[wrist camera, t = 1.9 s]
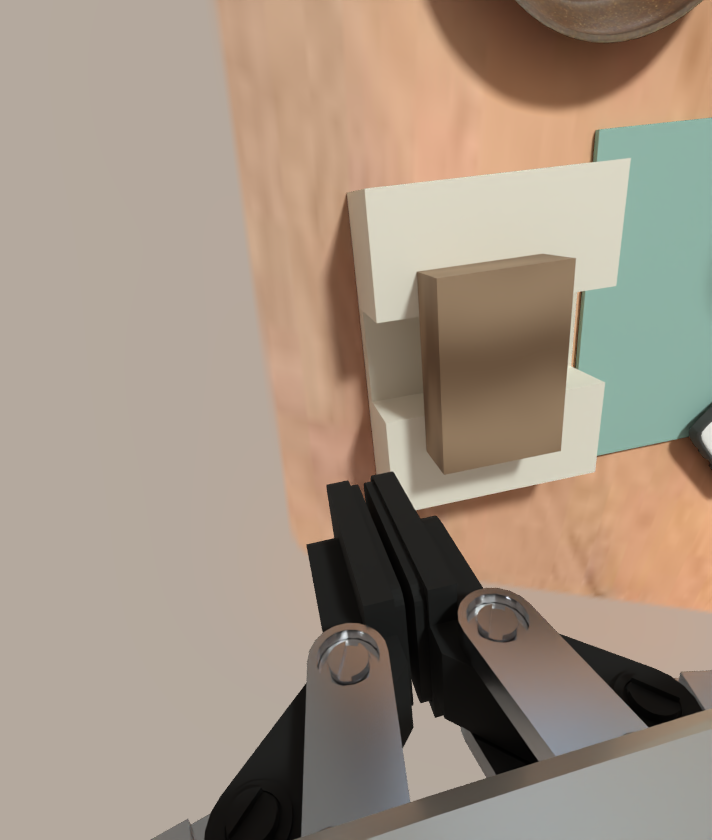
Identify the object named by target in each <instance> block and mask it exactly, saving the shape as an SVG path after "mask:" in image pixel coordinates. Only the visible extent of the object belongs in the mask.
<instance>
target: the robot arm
mask: <svg viewBox="0 0 712 840" xmlns="http://www.w3.org/2000/svg"><path fill="white" fill-rule="evenodd" d="M364 492H365V500H366V502H365V500H364V498H363V495H362V493H361V490H360V488H359V486H358V485H353V486H350V483H349V481H343V482H338V483H333V484H328V485H327V494H328V500H329V507H330V513H331V519H332V526H333V532H334V539H329V540H325V541H320V542H316V543H311V544H307V550H308V556H309V561H310V567H311V571H312V577H313V583H314V588H315V593H316V599H317V604H318V610H319V615H320V620H321V626H322V631H323V633H322V634H321V635H320V636H319V637H318V638H317V639H316V640H315V642H314V644H313V645H312V647H311V649H310V651H309V656H308V661H307V683H306V684H305V686H304V687H303V688H302V690H301V691H300V692H299V693H298V695H297V696H296V697H295V699H294V700H293V701H292V703H291V704H290V705H289V707H288V708H287V709H286V711H285V712H284V713H283V715H282V716H281V717H280V719H279V720H278V721H277V723H276V724H275V725H274V727H273V728H272V730H270V732H269V733H268V734H267V736H266V737H265V738H264V740H263V741H262V742H261V744H260V745H259V747H258V748H257V749H256V750H255V752H254V753H253V754H252V756H251V757H250V758H249V760H248V761H247V762H246V764H245V765H244V766H243V768H242V769H241V770H240V771H239V773H238V774H237V775H236V777H235V778H234V779H233V781H232V782H231V783H230V785H229V786H228V787H227V789H226V790H225V791H224V793H223V794H222V795H221V796H220V798H219V800H218V802H217V803H216V805H215V807H214V808H213V810H212V812H211V814H209V815H207V816H205V817H204V818H202V819H200V820H198V821H197V822H195V823H193V824H190V822H189V820H188V819H187V820H185V821H183V822H181V823H180V824H178V825H176V826H174V827H172V828H171V829H169V830H167V831H165V832H164V833H162V834H160V835H158V836H157V837H155V838H153V839H151V840H712V670H710V671H689V672H688V671H687V672H681V673H680V677H679V678H672V677H671V676H669V675H668V674H665V673H663V672H661V671H659V670H657V669H654V668H652V667H649V666H647V665H643V664H641V663H638V662H635V661H633V660H630V659H627V658H625V657H622V656H619V655H616V654H613V653H611V652H608V651H605V650H603V649H600V648H597V647H594V646H591V645H588V644H586V643H583V642H581V641H578V640H575V639H572V638H570V637H567V636H564V635H561V634H559V633H558V632H557V631H556V630H555V629H554V628H553V627H552V626H551V625H550V624H549V623H548V622H547V621H546V620H545V619H544V618H543V617H542V616H541V615H540V614H539V613H538V612H537V611H536V609H535V608H533V606H532V605H531V604H530V603H529V602H527V601H526V600H525V599H524V598H522V597H521V596H520V595H517V594H515V593H513V592H511V591H508V590H503V589H500V588H484V589H483V587H482V586H481V584H480V582H479V581H478V579H477V578H476V576H475V574H474V573H473V571H472V570H471V568H470V567H469V565H468V563H467V562H466V560H465V559H464V557H463V555H462V554H461V552H460V551H459V549H458V548H457V546H456V544H455V543H454V541H453V540H452V538H451V536H450V535H449V533H448V532H447V530H446V529H445V527H444V525H443V524H442V522H441V521H440V519H439V518H438V517H437V516H432V517H427V518H423V519H420V517H419V516H418V514H417V512H416V510H415V509H414V507H413V505H412V503H411V501H410V500H409V498H408V496H407V494H406V493H405V491H404V489H403V487H402V486H401V484H400V482H399V480H398V479H397V477H396V475H395V473H394V472H393V471H391V472H386V473H382V474H377V475H372V476H371V482H367V483H364ZM411 679H412V681H411ZM412 682H413V685H414V688H415V691H416V693H417V696H418V699H419V701H420V703H423V702H427V701H429V703H430V706H431V708H432V711H433V714H434V716H435V718H436V717H439V716H442V715H444V718H445V719H447V720H449V721H451V722H453V723H455V724H457V725H459V726H460V727H461V732H462V734H463V737H464V739H465V742H466V743H467V745H468V747H469V749H470V750H471V752H472V754H473V755H474V757H475V759H476V761H477V762H478V764H479V766H480V767H481V769H482V771H483V773H484V774H485V776H486V778H485V779H483V780H479V781H476V782H473V783H470V784H466V785H464V786H460V787H457V788H454V789H451V790H447V791H444V792H441V793H438V794H435V795H432V796H428V797H425V798H422V799H419V800H416V801H413V802H410V797H409V790H408V783H407V776H406V770H405V762H404V755H403V746H404V745H405V743H406V741H407V739H408V737H409V735H410V733H411V731H412V729H413V718H412V705H413V694H412Z"/></svg>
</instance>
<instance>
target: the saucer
mask: <svg viewBox="0 0 712 840" xmlns="http://www.w3.org/2000/svg"><path fill="white" fill-rule="evenodd" d="M515 1H516V2H517V3H518V4H519V5H520V6H521V7H522V8H523V9H524V10H526V11H527V12H528V13H529V14H530V15H531V16H533V17H534V18H535V19H537V20H538V21H539V22H541V23H542V24H544V25H545V26H547V27H549V28H551V29H553V30H554V31H556V32H559V33H561V34H563V35H566V36H568V37H571V38H574V39H578V40H582V41H588V42H596V43H612V42H622V41H628V40H632V39H636V38H639V37H643V36H646V35H648V34H651V33H653V32H655V31H658V30H660V29H662V28H664V27H666V26H668V25H669V24H671V23H673V22H675V21H676V20H678V19H679V18H681V17H682V16H684V15H685V14H686V13H688V12H689V11H690V10H692V9H693V8H694V7H695V6H697V5H698V4H699V3H700V2H702V1H703V0H515Z"/></svg>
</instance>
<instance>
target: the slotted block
mask: <svg viewBox="0 0 712 840" xmlns="http://www.w3.org/2000/svg"><path fill="white" fill-rule="evenodd" d="M630 162H631V158H626V159H617V160H608V161H600V162H591V163H582V164H574V165H565V166H557V167H548V168H539V169H531V170H522V171H514V172H505V173H496V174H488V175H479V176H470V177H462V178H453V179H445V180H436V181H427V182H419V183H410V184H402V185H393V186H384V187H376V188H367V189H361V190H357V191H353V192H348V193H347V200H348V210H349V219H350V228H351V238H352V247H353V257H354V266H355V276H356V285H357V295H358V304H359V314H360V323H361V333H362V342H363V352H364V361H365V371H366V380H367V390H368V399H369V408H370V418H371V427H372V437H373V446H374V456H375V465H376V475H377V474H382V473H386V472H391V471H393V472H394V473H395V475H396V477H397V479H398V480H399V482H400V484H401V486H402V487H403V489H404V491H405V493H406V494H407V496H408V498H409V500H410V501H411V503H412V505H413V507H414V509H415V510H419V509H424V508H429V507H433V506H438V505H443V504H447V503H452V502H457V501H461V500H466V499H471V498H475V497H480V496H485V495H489V494H494V493H499V492H503V491H508V490H513V489H518V488H522V487H527V486H532V485H536V484H541V483H546V482H550V481H555V480H560V479H564V478H569V477H574V476H578V475H583V474H588V473H592V472H595V468H596V459H597V450H598V441H599V433H600V424H601V415H602V406H603V398H604V389H605V382H603V381H601V380H599V379H597V378H595V377H593V376H590V375H588V374H586V373H584V372H582V371H580V370H578V369H576V368H574V367H572V366H571V361H572V348H573V336H574V324H575V312H576V299H577V292H581V291H588V290H594V289H600V288H607V287H613V286H616V284H617V275H618V267H619V258H620V249H621V240H622V232H623V223H624V214H625V205H626V197H627V188H628V179H629V170H630ZM537 254H549V255H556V256H564V257H571V258H576V265H575V278H574V290H573V303H572V316H571V329H570V341H569V354H568V367H567V380H566V392H565V405H564V418H563V431H562V443H561V451H558V452H554V453H549V454H544V455H539V456H534V457H529V458H524V459H519V460H515V461H510V462H505V463H500V464H495V465H490V466H485V467H480V468H476V469H471V470H466V471H461V472H456V473H451V474H446V475H444V474H443V473H442V472H441V470H440V469H439V467H438V466H437V465H436V463H435V462H434V461H433V459H432V458H431V457H430V455H429V454H428V453H427V451H426V433H425V415H424V396H423V377H422V359H421V340H420V322H419V303H418V285H417V271H424V270H431V269H438V268H445V267H452V266H459V265H466V264H473V263H480V262H487V261H494V260H501V259H509V258H516V257H523V256H530V255H537Z"/></svg>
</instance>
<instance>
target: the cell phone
mask: <svg viewBox="0 0 712 840" xmlns="http://www.w3.org/2000/svg"><path fill="white" fill-rule="evenodd" d="M689 436H690V439H691V441H692V442H693V444H694V445H695V447H697V448H698V451H699V452H700V454H701V455H702V457H703V458H705V459H707V460H708V461H709V462H710V465H709V467H710V468H711V469H712V406H711V407H710V408H709V409H708V410H707V411H706V412H705V413H704V414H703V415H702V416H701V417H700V418H699V419H698V420H697V421H696V422H695V423H694V424H693V425H692V426H691V428H690V430H689Z"/></svg>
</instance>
